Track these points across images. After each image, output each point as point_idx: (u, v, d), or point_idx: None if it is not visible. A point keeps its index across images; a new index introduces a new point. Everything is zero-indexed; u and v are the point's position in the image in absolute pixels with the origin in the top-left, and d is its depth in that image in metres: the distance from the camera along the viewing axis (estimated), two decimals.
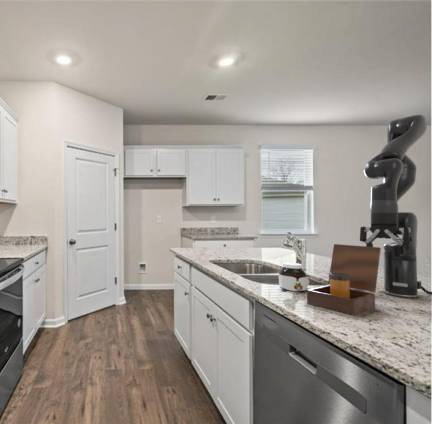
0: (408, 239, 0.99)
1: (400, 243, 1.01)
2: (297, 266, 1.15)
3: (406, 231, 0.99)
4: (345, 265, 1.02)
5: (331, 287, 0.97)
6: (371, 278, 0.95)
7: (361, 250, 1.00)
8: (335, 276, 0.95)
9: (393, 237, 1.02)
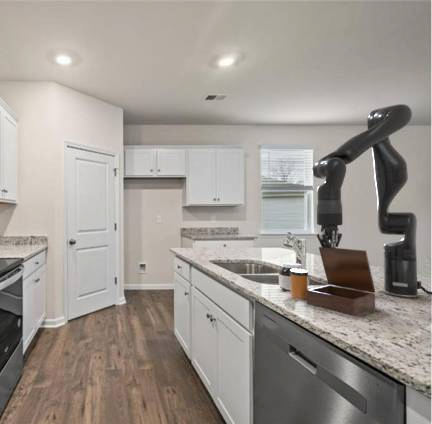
0: None
1: None
2: (297, 266, 1.15)
3: None
4: (337, 268, 1.00)
5: (291, 282, 1.08)
6: (367, 280, 0.94)
7: (348, 254, 0.95)
8: (294, 272, 1.06)
9: None
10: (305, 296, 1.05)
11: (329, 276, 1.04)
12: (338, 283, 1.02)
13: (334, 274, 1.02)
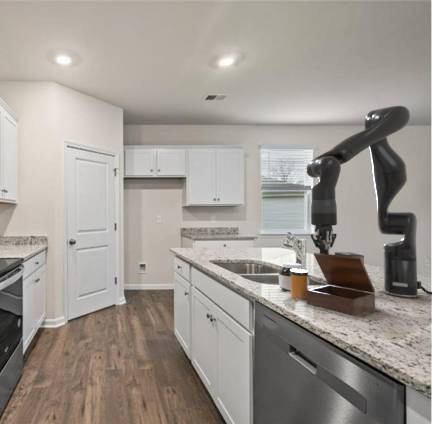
0: None
1: None
2: (297, 266, 1.15)
3: None
4: (335, 271, 0.99)
5: (291, 282, 1.08)
6: (366, 283, 0.93)
7: (343, 260, 0.94)
8: (294, 272, 1.06)
9: None
10: (305, 296, 1.05)
11: (328, 278, 1.03)
12: (338, 284, 1.02)
13: (333, 276, 1.01)
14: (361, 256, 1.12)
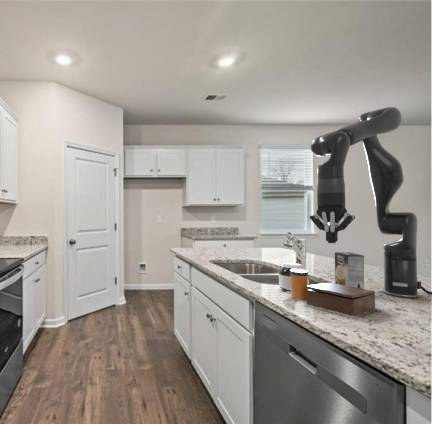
0: (342, 226, 0.91)
1: (332, 230, 0.93)
2: (297, 266, 1.15)
3: (347, 219, 0.89)
4: None
5: (291, 282, 1.08)
6: None
7: None
8: (294, 272, 1.06)
9: (332, 222, 0.93)
10: (305, 296, 1.05)
11: None
12: None
13: None
14: (361, 256, 1.12)
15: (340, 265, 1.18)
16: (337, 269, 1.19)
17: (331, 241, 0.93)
